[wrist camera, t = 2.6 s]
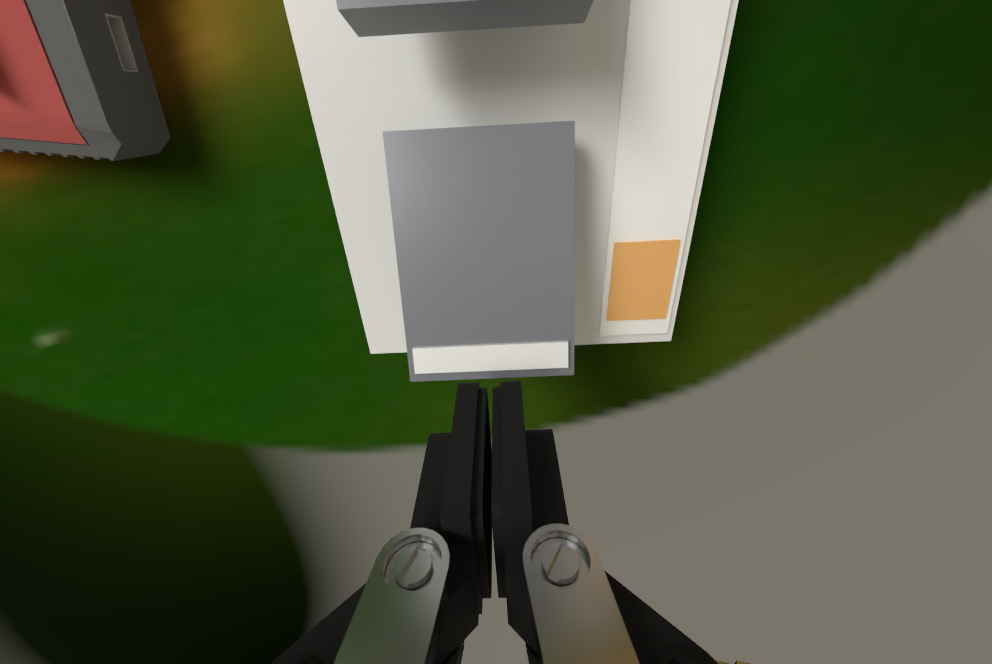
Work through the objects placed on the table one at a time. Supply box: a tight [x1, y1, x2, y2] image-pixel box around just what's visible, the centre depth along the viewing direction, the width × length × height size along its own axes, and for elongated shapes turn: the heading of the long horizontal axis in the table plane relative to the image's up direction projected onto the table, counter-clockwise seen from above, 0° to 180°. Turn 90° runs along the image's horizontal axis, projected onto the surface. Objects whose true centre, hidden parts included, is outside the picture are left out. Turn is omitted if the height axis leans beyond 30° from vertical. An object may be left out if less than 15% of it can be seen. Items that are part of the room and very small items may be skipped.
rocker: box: [383, 121, 575, 382], centre depth 12 cm, size 7×5×1 cm
